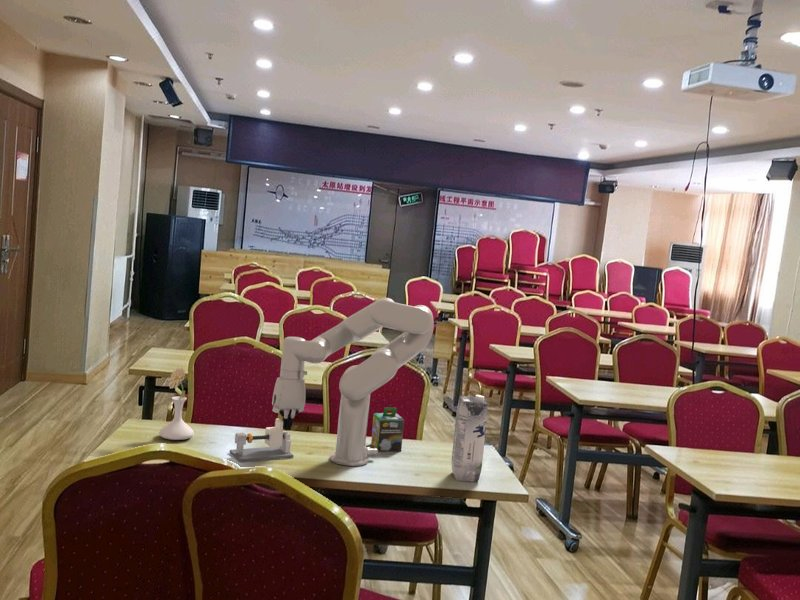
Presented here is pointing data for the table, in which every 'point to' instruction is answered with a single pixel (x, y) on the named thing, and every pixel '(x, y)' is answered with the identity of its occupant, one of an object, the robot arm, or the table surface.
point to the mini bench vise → (266, 452)
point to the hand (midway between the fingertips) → (286, 429)
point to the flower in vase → (177, 411)
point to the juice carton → (469, 438)
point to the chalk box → (387, 430)
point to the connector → (240, 442)
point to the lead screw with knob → (257, 437)
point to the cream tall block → (275, 434)
